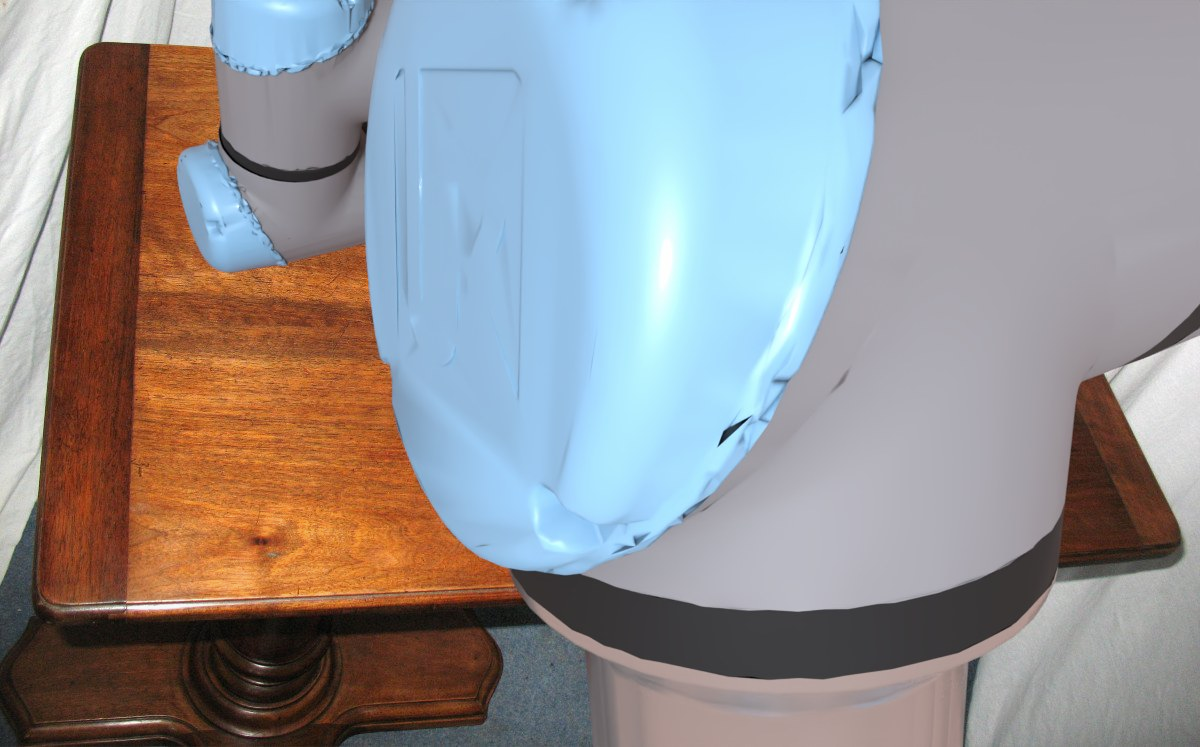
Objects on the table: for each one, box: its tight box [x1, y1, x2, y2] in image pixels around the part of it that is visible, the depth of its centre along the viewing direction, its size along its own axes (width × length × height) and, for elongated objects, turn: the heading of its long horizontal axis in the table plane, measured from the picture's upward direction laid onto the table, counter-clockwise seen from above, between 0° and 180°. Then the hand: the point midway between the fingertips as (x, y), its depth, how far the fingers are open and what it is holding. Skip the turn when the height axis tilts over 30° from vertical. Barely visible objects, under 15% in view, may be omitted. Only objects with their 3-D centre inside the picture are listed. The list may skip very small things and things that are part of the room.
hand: (709, 111), depth 74 cm, fingers closed on cup, 8 cm apart
